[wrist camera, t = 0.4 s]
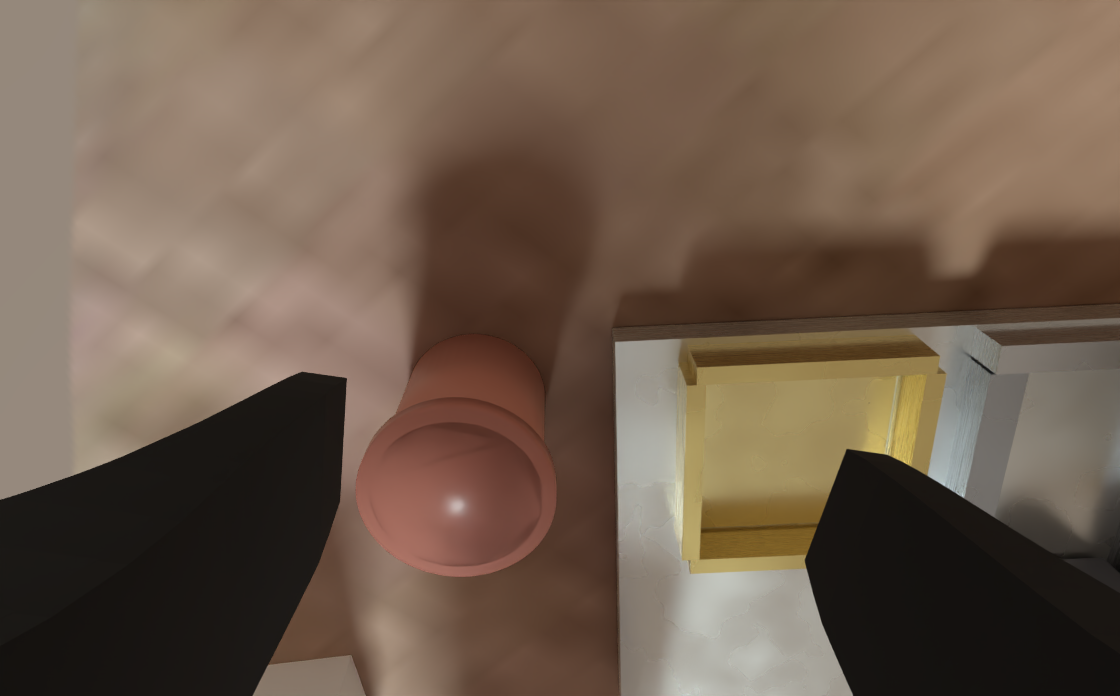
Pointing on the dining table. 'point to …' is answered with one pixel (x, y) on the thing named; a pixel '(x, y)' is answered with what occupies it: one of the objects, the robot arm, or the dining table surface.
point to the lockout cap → (462, 462)
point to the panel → (835, 468)
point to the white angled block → (312, 678)
